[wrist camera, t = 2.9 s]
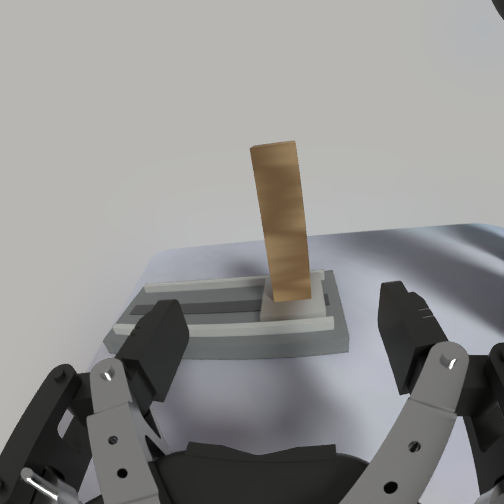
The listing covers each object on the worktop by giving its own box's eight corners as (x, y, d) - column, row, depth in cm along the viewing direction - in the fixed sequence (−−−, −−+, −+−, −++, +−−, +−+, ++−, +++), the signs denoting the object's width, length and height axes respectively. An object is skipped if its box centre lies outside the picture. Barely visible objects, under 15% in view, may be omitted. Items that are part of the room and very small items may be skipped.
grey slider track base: (332, 282, 28) (332, 263, 27) (348, 351, 19) (349, 329, 18) (148, 295, 32) (142, 279, 31) (109, 352, 23) (99, 334, 22)
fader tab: (319, 279, 26) (305, 138, 21) (326, 319, 20) (313, 142, 15) (266, 284, 27) (243, 146, 22) (261, 324, 21) (229, 153, 16)
